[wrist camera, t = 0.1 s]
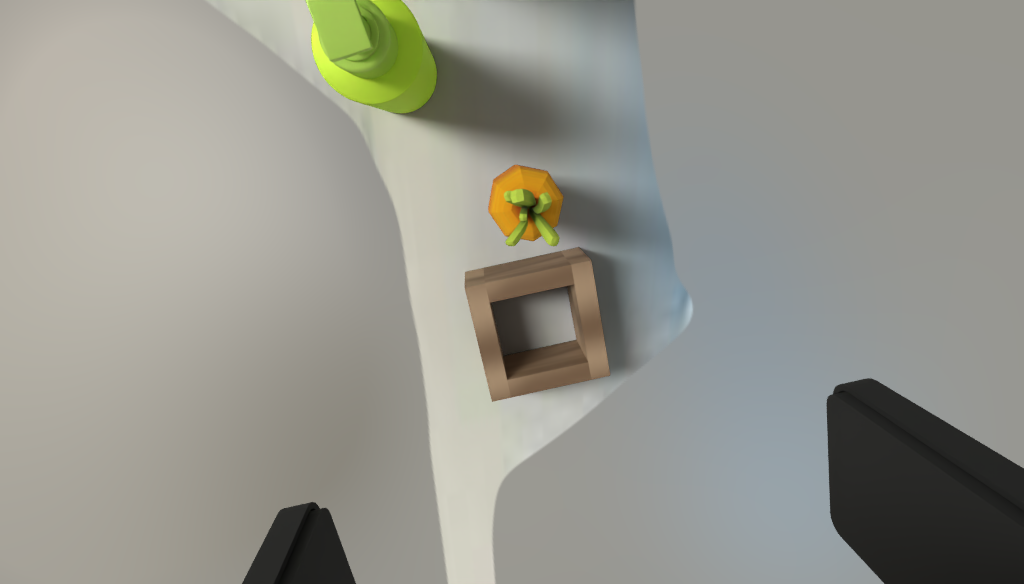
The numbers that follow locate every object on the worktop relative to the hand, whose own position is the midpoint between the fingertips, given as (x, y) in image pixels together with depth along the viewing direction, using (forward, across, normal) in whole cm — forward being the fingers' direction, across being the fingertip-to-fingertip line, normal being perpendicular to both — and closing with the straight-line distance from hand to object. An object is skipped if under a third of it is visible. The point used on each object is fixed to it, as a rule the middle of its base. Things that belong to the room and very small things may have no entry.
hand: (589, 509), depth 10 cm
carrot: (+37, -2, -2) cm, 37 cm away
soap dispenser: (+37, +5, -13) cm, 39 cm away
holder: (+37, -2, +9) cm, 38 cm away
